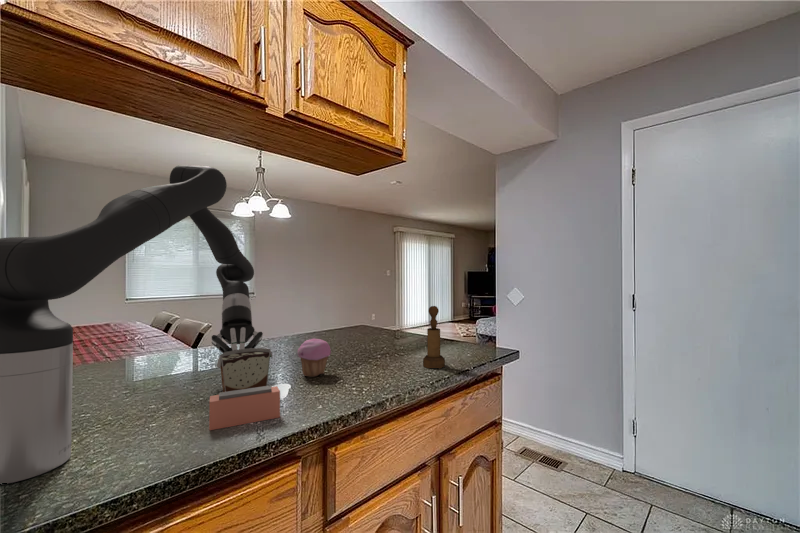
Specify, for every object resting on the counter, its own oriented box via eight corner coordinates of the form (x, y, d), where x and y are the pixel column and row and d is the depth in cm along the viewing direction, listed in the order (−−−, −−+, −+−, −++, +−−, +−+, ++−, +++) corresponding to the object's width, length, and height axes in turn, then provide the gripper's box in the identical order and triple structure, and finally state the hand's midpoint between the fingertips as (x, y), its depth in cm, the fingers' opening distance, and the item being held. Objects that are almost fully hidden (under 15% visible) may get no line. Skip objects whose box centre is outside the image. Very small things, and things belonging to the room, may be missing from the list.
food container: (259, 385, 87) (259, 345, 87) (272, 390, 83) (272, 348, 83) (206, 399, 78) (207, 354, 78) (218, 406, 74) (219, 358, 74)
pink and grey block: (209, 430, 62) (209, 398, 62) (209, 423, 65) (209, 392, 65) (279, 417, 67) (280, 388, 68) (277, 411, 70) (277, 383, 71)
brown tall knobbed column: (438, 370, 100) (438, 307, 101) (419, 367, 104) (418, 306, 104) (448, 365, 106) (447, 305, 106) (429, 362, 109) (429, 304, 110)
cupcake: (313, 369, 102) (313, 335, 102) (337, 372, 98) (337, 337, 98) (291, 377, 94) (291, 340, 94) (315, 381, 90) (315, 342, 90)
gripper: (210, 305, 93) (208, 361, 82) (262, 303, 99) (268, 355, 88) (210, 323, 98) (208, 378, 87) (260, 320, 104) (265, 371, 93)
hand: (238, 366), depth 87 cm, fingers closed
